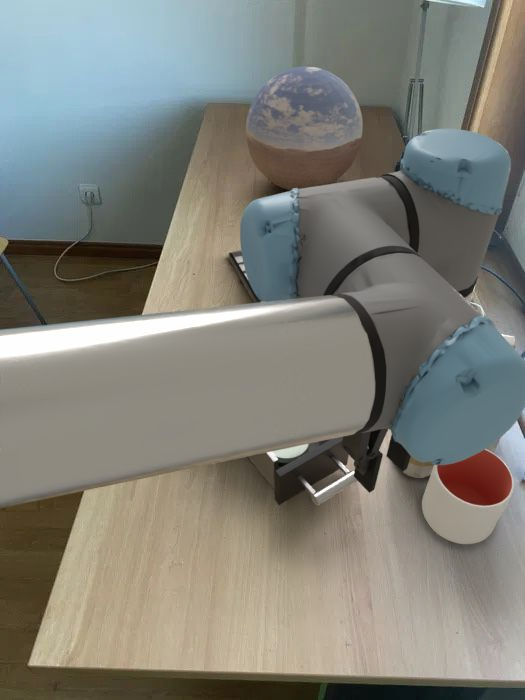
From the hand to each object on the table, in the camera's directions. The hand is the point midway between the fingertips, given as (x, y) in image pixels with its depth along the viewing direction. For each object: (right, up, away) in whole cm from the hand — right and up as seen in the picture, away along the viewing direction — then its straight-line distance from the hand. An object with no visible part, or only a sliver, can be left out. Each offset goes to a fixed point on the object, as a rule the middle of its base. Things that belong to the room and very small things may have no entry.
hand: (380, 472), depth 65 cm
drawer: (-9, -3, +20) cm, 23 cm away
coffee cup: (+10, -3, +22) cm, 24 cm away
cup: (+14, -9, +15) cm, 22 cm away
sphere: (-3, +59, +90) cm, 108 cm away
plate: (-10, -1, +21) cm, 23 cm away
